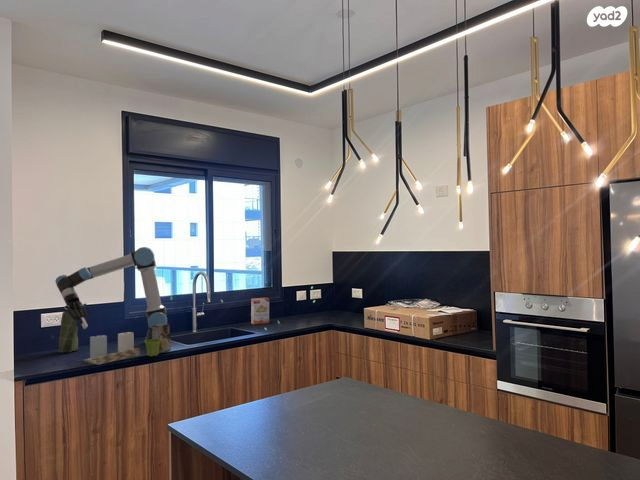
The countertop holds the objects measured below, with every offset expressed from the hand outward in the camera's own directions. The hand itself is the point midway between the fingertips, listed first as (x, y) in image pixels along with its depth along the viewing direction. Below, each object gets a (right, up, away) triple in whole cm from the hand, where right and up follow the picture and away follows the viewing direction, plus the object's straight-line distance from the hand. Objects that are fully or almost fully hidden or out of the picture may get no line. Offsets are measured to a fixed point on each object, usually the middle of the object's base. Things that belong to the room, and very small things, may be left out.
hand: (85, 327), depth 272 cm
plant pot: (+38, -17, +4) cm, 42 cm away
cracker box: (+88, -18, +111) cm, 143 cm away
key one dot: (+23, -16, +2) cm, 28 cm away
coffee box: (+39, -18, +15) cm, 45 cm away
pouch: (-18, -18, +16) cm, 30 cm away
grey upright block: (+11, -16, -7) cm, 20 cm away
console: (+17, -17, -2) cm, 24 cm away
